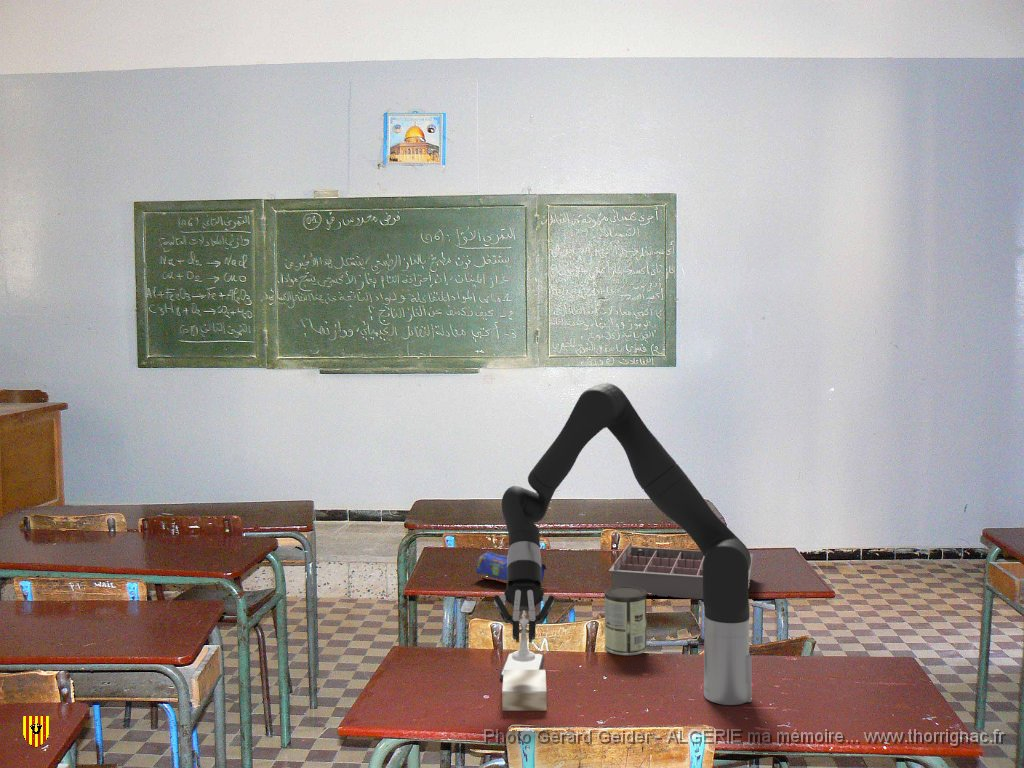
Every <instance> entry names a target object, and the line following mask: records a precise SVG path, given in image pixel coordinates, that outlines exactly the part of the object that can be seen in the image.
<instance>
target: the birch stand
mask: <svg viewBox="0 0 1024 768" xmlns="http://www.w3.org/2000/svg"><path fill="white" fill-rule="evenodd" d="M501 691H502V692H501V693H502V695H501V696H502V699H501V700H502V701H501V703H502V705H501V706H502V708H501V710H502V712H503V711H507V712H508V711H509V712H510V711H512V712H513V711H515V712H516V711H518V712H520V711H527V712H528V711H533V712H534V711H535V712H536V711H537V712H538V711H541V712H542V711H547V706H548V705H547V704H548V701H547V693H548V692H547V676H546V669H541V670H504V674H503V681H502V690H501Z"/></svg>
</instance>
